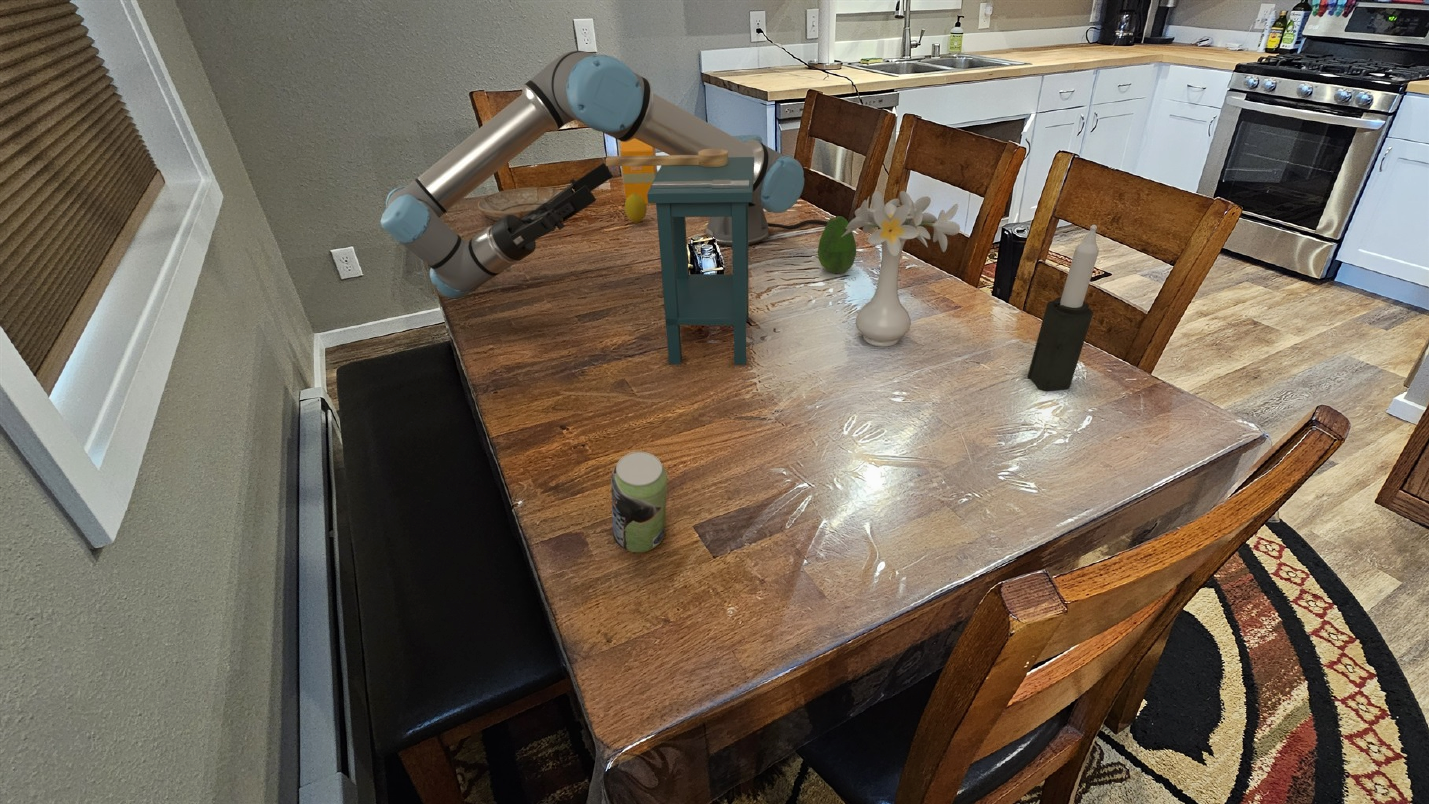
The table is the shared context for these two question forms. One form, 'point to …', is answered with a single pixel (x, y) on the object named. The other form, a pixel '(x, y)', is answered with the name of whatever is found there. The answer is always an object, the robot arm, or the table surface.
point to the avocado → (836, 246)
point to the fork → (703, 184)
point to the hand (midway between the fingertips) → (600, 180)
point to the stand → (684, 293)
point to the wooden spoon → (673, 159)
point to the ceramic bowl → (515, 201)
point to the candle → (1065, 323)
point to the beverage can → (638, 501)
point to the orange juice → (638, 169)
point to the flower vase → (894, 259)
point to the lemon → (635, 208)
